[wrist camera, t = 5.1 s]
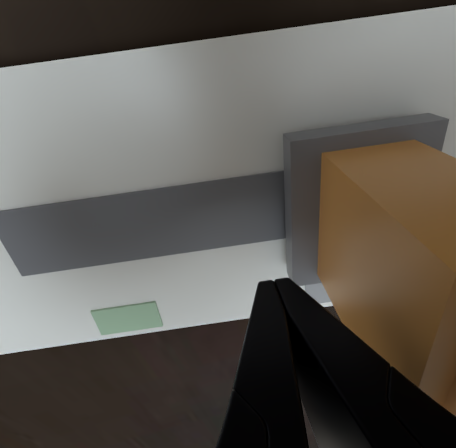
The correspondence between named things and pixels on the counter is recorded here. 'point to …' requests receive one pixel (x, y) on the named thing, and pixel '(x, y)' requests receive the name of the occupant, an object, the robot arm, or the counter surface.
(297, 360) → the robot arm
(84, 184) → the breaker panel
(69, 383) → the counter surface
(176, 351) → the counter surface
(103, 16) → the counter surface
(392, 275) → the toggle
